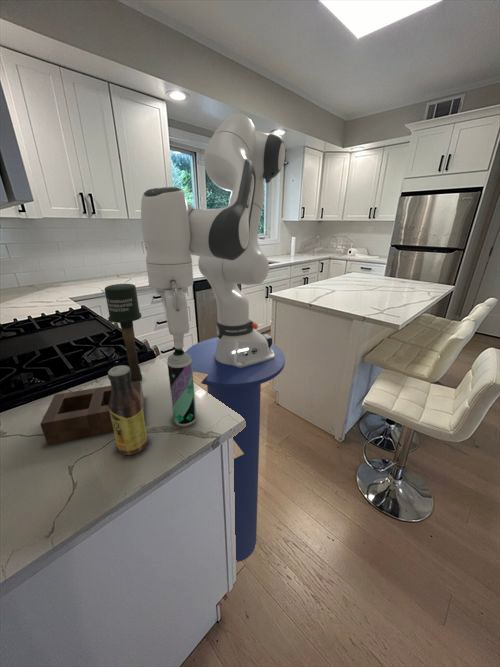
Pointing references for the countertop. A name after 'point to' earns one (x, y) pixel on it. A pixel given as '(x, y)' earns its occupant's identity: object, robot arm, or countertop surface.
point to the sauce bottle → (126, 412)
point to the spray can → (182, 387)
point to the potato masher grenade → (125, 320)
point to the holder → (80, 414)
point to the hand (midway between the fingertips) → (176, 338)
